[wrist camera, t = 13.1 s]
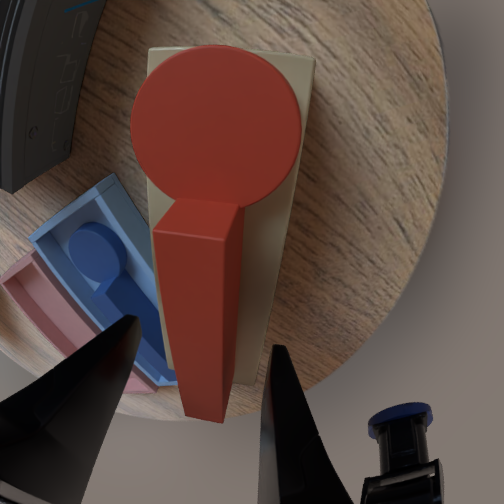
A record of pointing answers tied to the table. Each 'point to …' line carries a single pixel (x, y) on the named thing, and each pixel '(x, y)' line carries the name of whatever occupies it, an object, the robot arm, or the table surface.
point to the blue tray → (128, 230)
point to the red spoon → (210, 197)
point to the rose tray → (58, 312)
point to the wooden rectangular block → (249, 226)
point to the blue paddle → (118, 288)
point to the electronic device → (40, 82)
